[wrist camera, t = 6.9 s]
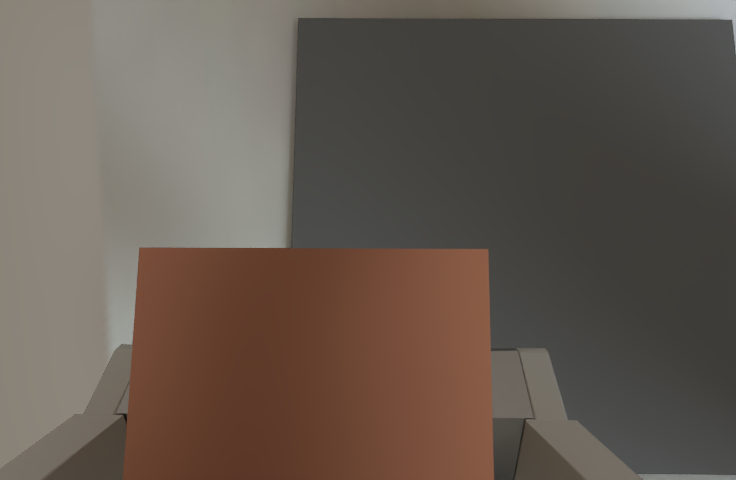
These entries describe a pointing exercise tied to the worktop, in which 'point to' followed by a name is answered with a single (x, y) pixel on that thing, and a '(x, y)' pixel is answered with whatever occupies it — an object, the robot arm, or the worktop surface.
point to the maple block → (310, 365)
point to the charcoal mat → (550, 198)
